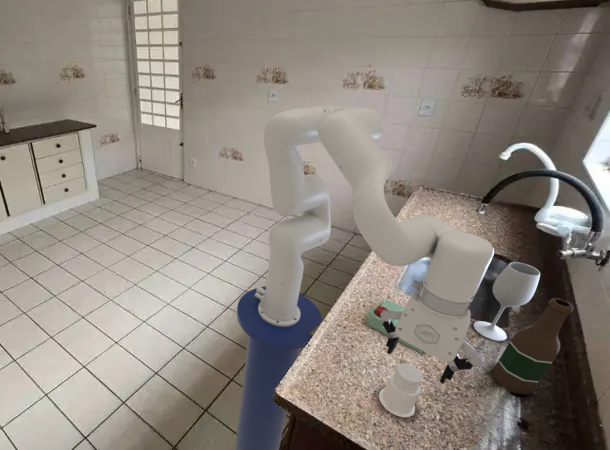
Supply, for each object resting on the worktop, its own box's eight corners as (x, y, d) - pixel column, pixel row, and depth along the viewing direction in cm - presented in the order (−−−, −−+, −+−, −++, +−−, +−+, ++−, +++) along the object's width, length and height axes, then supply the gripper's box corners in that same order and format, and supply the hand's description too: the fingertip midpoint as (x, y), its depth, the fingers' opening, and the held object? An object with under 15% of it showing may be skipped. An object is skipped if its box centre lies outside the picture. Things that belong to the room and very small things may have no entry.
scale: (362, 322, 99) (365, 313, 98) (381, 301, 107) (384, 292, 105) (421, 353, 90) (425, 343, 88) (437, 328, 97) (441, 319, 96)
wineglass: (487, 342, 93) (523, 278, 83) (466, 321, 99) (496, 260, 90) (514, 341, 93) (554, 277, 83) (491, 320, 100) (525, 259, 90)
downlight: (403, 426, 73) (418, 395, 68) (371, 401, 78) (383, 370, 73) (421, 405, 77) (436, 374, 72) (389, 382, 82) (401, 352, 77)
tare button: (373, 314, 98) (374, 309, 97) (377, 309, 100) (379, 304, 99) (384, 319, 96) (386, 315, 95) (388, 314, 98) (390, 310, 97)
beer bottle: (536, 402, 78) (596, 321, 66) (492, 386, 81) (542, 306, 70) (529, 376, 83) (582, 298, 72) (488, 362, 87) (533, 286, 76)
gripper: (385, 284, 67) (365, 349, 75) (500, 334, 55) (461, 404, 63) (400, 269, 71) (379, 332, 79) (509, 312, 60) (472, 380, 67)
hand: (416, 364), depth 71 cm, fingers open, 9 cm apart
